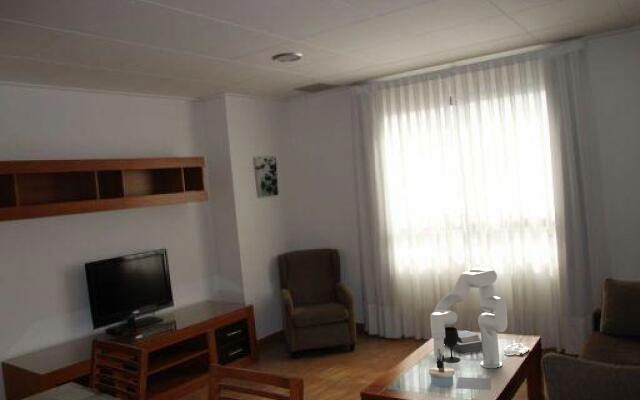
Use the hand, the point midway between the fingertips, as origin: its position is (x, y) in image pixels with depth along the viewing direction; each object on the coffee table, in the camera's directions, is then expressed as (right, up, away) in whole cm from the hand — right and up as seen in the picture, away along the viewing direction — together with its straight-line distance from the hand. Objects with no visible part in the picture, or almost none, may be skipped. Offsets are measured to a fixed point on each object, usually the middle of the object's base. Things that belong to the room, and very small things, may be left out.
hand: (440, 364), depth 297 cm
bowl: (+1, -11, 0) cm, 11 cm away
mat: (+17, -9, -4) cm, 20 cm away
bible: (+29, -7, +60) cm, 67 cm away
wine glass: (+15, -9, +37) cm, 41 cm away
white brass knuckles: (+58, -5, +41) cm, 71 cm away
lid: (+1, -5, 0) cm, 5 cm away
